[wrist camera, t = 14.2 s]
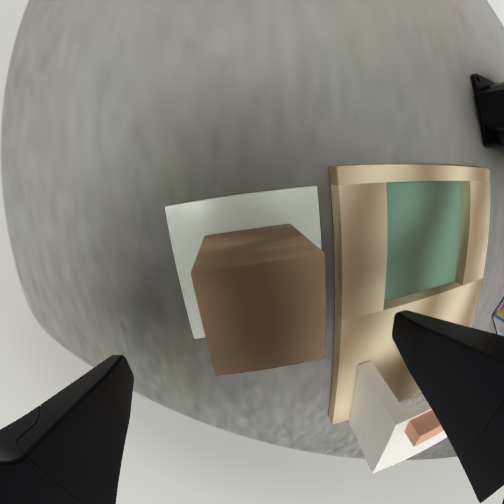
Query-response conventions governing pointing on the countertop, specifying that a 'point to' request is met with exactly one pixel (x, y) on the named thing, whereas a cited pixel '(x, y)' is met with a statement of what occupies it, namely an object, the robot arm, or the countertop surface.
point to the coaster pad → (235, 227)
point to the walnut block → (261, 298)
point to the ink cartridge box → (499, 319)
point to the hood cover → (389, 422)
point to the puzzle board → (401, 262)
